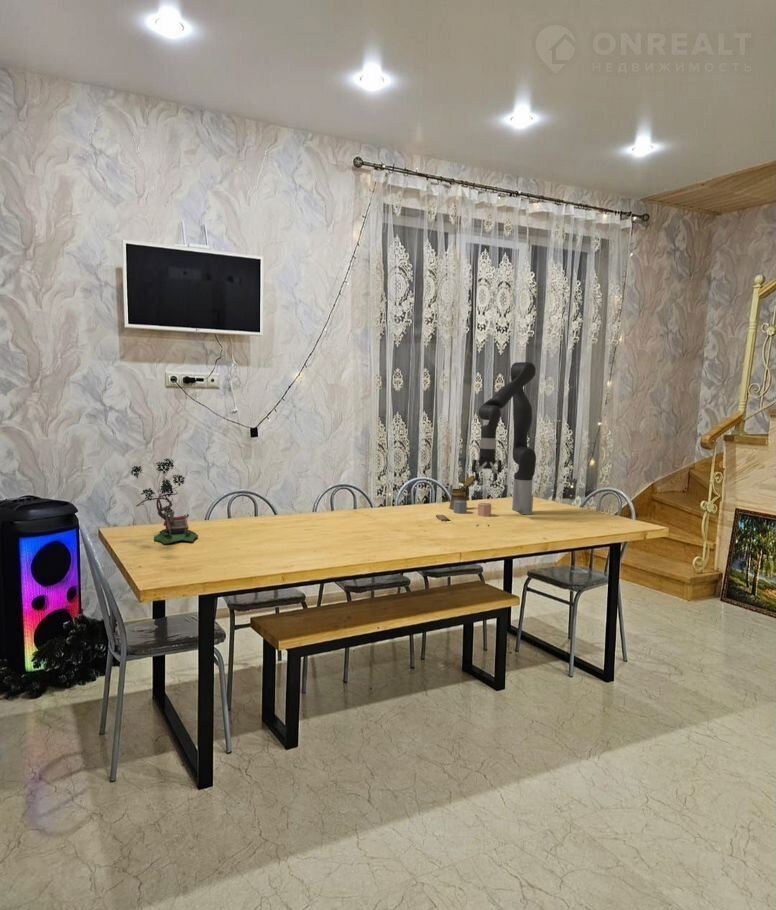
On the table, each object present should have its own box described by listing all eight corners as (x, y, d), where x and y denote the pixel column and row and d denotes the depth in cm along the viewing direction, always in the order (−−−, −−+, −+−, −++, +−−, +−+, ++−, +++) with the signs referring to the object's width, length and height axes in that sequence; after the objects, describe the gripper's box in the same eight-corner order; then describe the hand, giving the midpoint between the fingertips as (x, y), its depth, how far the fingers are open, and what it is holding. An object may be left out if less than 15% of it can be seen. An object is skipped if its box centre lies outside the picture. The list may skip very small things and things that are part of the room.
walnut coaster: (456, 517, 339) (456, 514, 338) (462, 521, 329) (462, 518, 329) (435, 517, 337) (436, 514, 337) (441, 521, 327) (441, 518, 327)
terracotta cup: (488, 517, 342) (488, 502, 341) (492, 519, 336) (492, 504, 335) (476, 517, 341) (476, 502, 340) (480, 519, 335) (480, 504, 334)
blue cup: (463, 514, 347) (464, 500, 346) (467, 516, 341) (468, 502, 340) (452, 514, 345) (452, 500, 345) (455, 516, 340) (456, 502, 339)
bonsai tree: (127, 534, 278) (127, 454, 275) (190, 530, 290) (190, 453, 287) (142, 555, 248) (142, 466, 244) (212, 549, 260) (213, 464, 256)
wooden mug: (477, 512, 354) (479, 476, 352) (454, 513, 348) (456, 477, 346) (467, 508, 362) (469, 474, 360) (444, 510, 355) (446, 474, 353)
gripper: (499, 446, 340) (497, 480, 341) (470, 446, 337) (469, 480, 339) (504, 448, 332) (502, 482, 334) (475, 448, 330) (474, 482, 331)
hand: (485, 481), depth 336 cm, fingers open, 8 cm apart
